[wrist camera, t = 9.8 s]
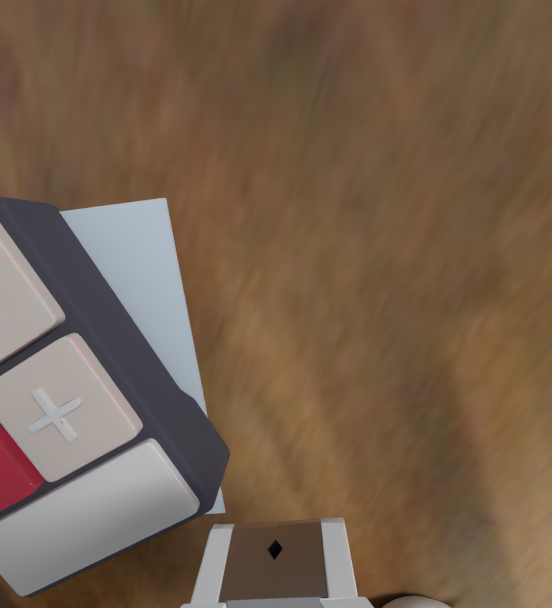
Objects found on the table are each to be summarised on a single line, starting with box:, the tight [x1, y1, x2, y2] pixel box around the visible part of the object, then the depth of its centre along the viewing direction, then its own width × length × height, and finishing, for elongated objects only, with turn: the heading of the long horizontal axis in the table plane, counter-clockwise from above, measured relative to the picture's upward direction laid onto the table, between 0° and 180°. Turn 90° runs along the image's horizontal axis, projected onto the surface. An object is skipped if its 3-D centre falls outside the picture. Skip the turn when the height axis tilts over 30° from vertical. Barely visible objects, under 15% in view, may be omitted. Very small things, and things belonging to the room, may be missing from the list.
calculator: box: [0, 197, 230, 597], centre depth 15 cm, size 11×4×15 cm
